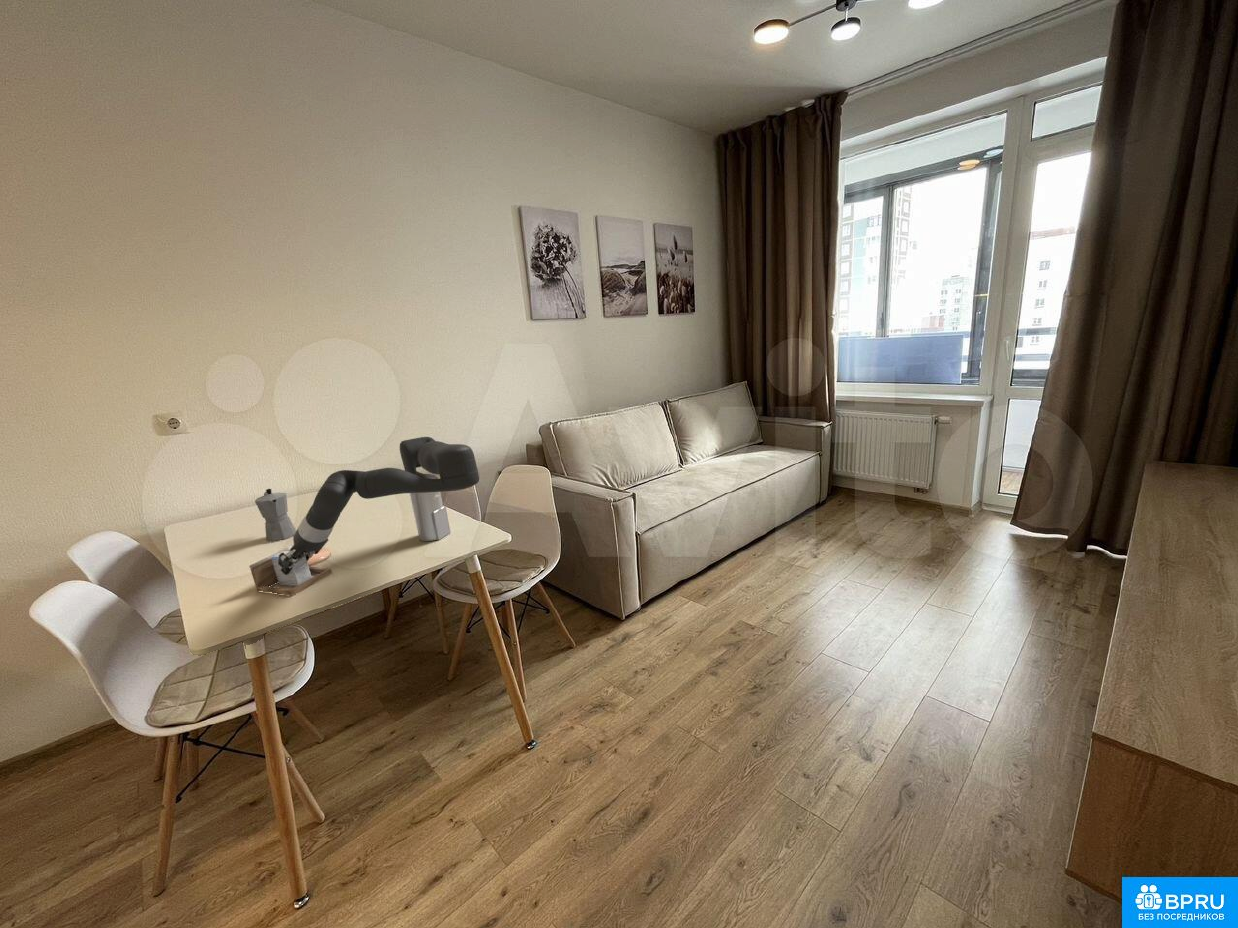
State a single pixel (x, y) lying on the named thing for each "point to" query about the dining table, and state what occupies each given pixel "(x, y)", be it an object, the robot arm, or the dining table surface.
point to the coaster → (319, 557)
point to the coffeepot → (275, 516)
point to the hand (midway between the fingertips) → (293, 567)
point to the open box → (267, 577)
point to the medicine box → (292, 572)
